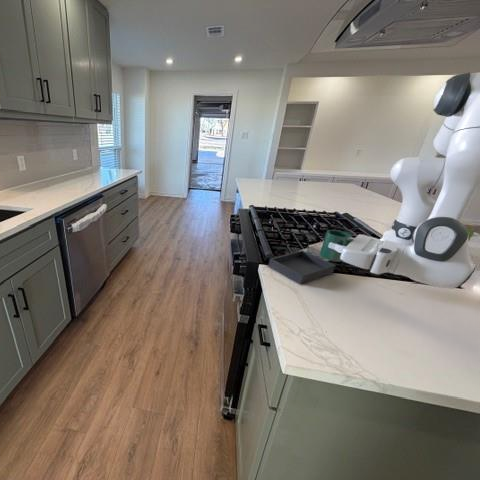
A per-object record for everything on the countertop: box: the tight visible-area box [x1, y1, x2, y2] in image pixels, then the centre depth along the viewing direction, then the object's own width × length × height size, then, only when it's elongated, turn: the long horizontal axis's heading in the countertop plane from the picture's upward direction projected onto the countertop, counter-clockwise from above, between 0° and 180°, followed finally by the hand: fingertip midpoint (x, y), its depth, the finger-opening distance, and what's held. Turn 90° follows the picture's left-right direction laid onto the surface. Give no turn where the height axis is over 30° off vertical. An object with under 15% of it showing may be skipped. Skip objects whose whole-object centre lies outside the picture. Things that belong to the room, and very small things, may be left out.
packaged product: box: [299, 240, 330, 262], centre depth 103 cm, size 18×5×10 cm
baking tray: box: [268, 249, 336, 285], centre depth 92 cm, size 18×13×3 cm
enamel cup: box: [320, 229, 353, 263], centre depth 83 cm, size 7×7×8 cm
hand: (333, 241), depth 84 cm, fingers closed on enamel cup, 7 cm apart
